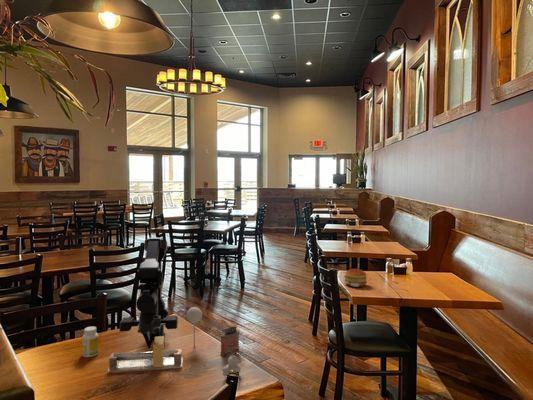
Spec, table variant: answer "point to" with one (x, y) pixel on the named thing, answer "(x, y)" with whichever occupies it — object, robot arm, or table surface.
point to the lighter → (229, 341)
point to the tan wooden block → (158, 351)
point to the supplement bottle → (90, 342)
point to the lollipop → (194, 317)
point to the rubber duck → (231, 365)
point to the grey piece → (143, 361)
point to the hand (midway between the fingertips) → (149, 347)
